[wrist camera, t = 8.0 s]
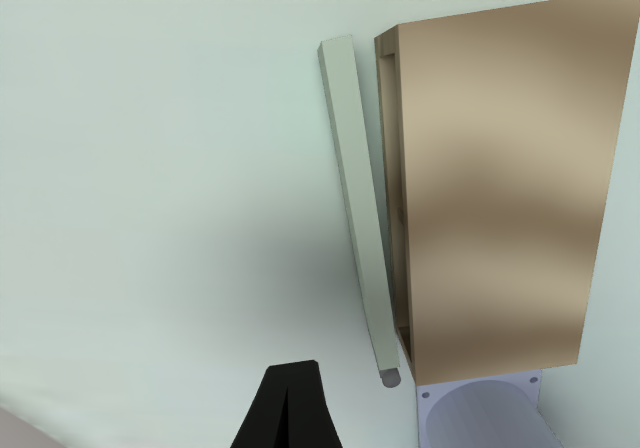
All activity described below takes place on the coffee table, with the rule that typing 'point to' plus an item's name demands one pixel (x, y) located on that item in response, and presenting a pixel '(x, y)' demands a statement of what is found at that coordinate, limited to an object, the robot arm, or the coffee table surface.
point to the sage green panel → (359, 198)
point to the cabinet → (499, 179)
